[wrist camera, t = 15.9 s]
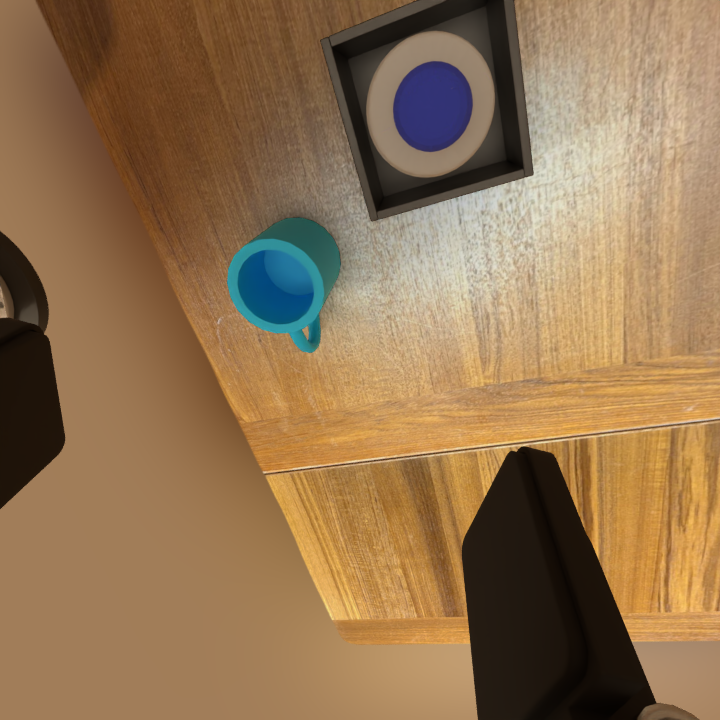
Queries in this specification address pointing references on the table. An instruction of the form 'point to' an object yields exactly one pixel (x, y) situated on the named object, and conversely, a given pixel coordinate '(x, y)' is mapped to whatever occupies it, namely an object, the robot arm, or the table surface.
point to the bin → (509, 122)
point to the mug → (286, 279)
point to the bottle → (430, 104)
